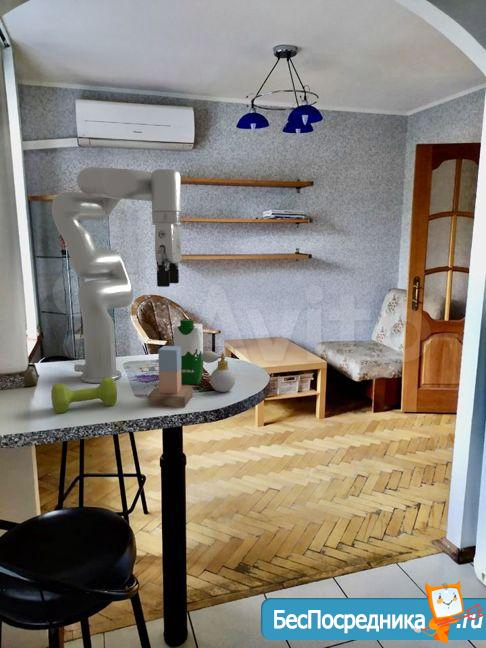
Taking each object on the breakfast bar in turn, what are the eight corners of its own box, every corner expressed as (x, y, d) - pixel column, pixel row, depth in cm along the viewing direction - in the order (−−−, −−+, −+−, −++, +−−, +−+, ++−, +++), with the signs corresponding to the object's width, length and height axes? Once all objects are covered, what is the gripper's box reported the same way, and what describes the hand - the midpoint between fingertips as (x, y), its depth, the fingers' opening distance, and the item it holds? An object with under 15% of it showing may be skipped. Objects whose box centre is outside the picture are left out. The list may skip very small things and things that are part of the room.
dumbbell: (53, 417, 120) (51, 390, 119) (51, 407, 127) (49, 381, 126) (119, 407, 127) (118, 381, 126) (113, 398, 134) (112, 374, 133)
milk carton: (172, 384, 147) (170, 321, 143) (179, 376, 156) (177, 316, 152) (200, 385, 146) (199, 321, 142) (205, 377, 155) (204, 316, 151)
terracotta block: (159, 392, 130) (158, 371, 128) (164, 387, 134) (163, 366, 133) (177, 393, 129) (176, 372, 128) (181, 387, 134) (181, 367, 133)
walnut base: (148, 405, 128) (148, 395, 127) (158, 394, 138) (158, 384, 137) (184, 407, 127) (184, 396, 126) (192, 395, 137) (192, 385, 136)
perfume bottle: (238, 393, 139) (238, 353, 137) (206, 396, 136) (206, 355, 134) (231, 385, 146) (231, 347, 144) (200, 388, 143) (199, 350, 141)
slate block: (159, 371, 128) (158, 349, 127) (164, 366, 133) (163, 345, 132) (177, 372, 128) (176, 350, 127) (181, 367, 133) (181, 346, 132)
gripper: (172, 217, 115) (174, 288, 118) (188, 220, 132) (189, 282, 135) (142, 217, 116) (144, 287, 118) (161, 220, 132) (163, 281, 135)
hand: (168, 284), depth 127 cm, fingers open, 9 cm apart
